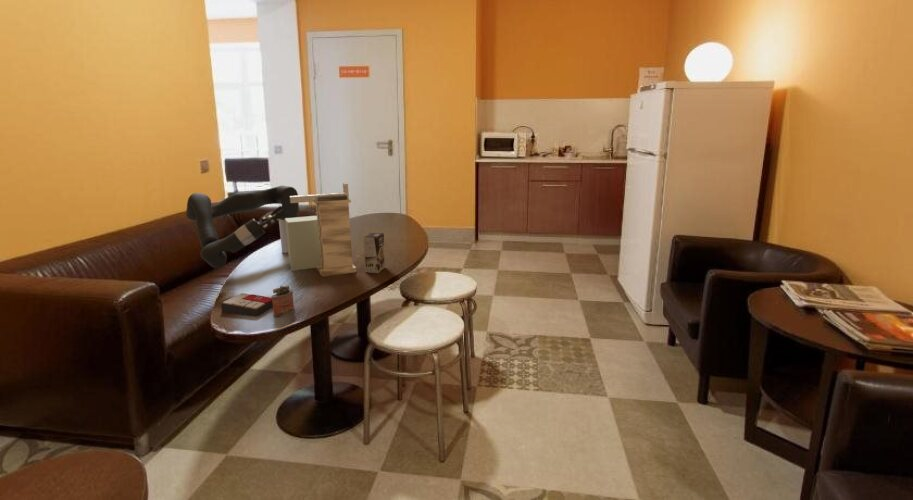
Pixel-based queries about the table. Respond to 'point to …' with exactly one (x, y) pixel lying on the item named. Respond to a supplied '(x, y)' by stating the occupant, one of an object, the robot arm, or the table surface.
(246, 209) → the robot arm
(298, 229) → the upright cream box
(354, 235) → the table surface
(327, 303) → the table surface
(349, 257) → the tall stand
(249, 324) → the table surface
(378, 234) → the coffee box
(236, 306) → the red and beige box
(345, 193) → the hook bar
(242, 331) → the table surface
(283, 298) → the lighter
